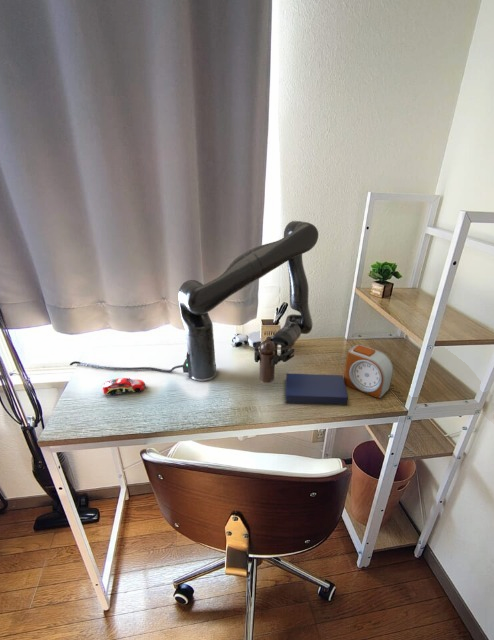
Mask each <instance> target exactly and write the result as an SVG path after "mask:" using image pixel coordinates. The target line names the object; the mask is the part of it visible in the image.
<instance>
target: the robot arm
mask: <svg viewBox="0 0 494 640" xmlns="http://www.w3.org/2000/svg"><path fill="white" fill-rule="evenodd" d="M319 235H320V234H319V230H318V228H317V227H316V226H315V225H314V224H313V223H311V222H308V221H303V220H302V221H301V220H292V221H290V222H288V223H287V224H286V226H285V228H284V231H283V237H282V238H280V239H278V240H276V241H272V242H268V243H265V244H262V245H258V246H255V247H253V248H251V249H249V250H247V251H245V252H244V253H242V254H239V256H237V257H236V258H235V259H233V261H232V262H231V263H230V264H229V265H228V267H227V268H226V269H225V271H223V273H222V274H220V275H219V276H218V277H216V278H215V279H212V280H210V281H209V282H207V283H205V284H203V283H202V282H201V281H199V280H196V279H189V280H188V279H187V280H186V281H184V282H183V283H182V284H181V285H180V287H179V291H178V306H179V311H180V312H179V313H180V317H181V321H182V324H183V328H184V333H185V342H186V350H187V352H186V354H185V356H186V357H185V359H184V362H183V364H179V365H175V366H173V367H171V369H161V368H156V367H151V366H149V367H148V366H143V367H142V366H138V367H123V366H121V367H119V366H118V367H117V366H105V365H98V364H93V363H87V362H86V363H85V362H81V361H77V360H76V361H75V360H74V361H72V362H70V364H69V366H73V365H76V364H77V365H81V366H87V367H92V368H99V369H106V370H120V371H121V370H123V371H133V370H134V371H135V370H150V371H151V370H152V371H157V372H162V373H172V372H173V371H174V370H176V369H181V368H182V372H183V374H188V378H189V379H192V380H194V381H197V382H206V381H210V380H213V379H214V378H215V377H216V376H217V374H218V373H217V363H216V353H215V352H216V351H215V338H214V325H213V321H212V319H211V317H210V314H209V313H210V312H211V311H213V310H214V309H215V308H216V307H217V306H219V305H220V304H222V303H223V302H224V301H225V300H227V299H228V298H229V297H231V296H232V295H234V294H236V293H238V292H239V291H241V290H243V289H245V288H246V287H247V286H249V285H251V284H253V283H254V282H257V281H258V280H259V279H261V278H263V277H264V276H266V275H267V274H269V273H270V272H272V271H273V270H275V269H277V268H278V267H280V266H282V265H283V264H285V263H286V264H287V270H288V279H289V307H290V309H292V310H293V311H296V312H298V313H299V314H296V313H291V314H289V315H287V316H286V318H285V323H284V325H283V326H282V327H281V328H279V329H278V330H277V331H276V332H275V333H274V334H273V335H272V336H271V337H270V341H272V342H273V343H274V345H275V349H274V351H275V357H274V358H273V359H272V360H271V366H274V365H275V366H276V365H278V363H281V361H282V362H283V363H286V362H288V361H290V360H291V359H292V358H294V357H295V353H296V352H295V351H296V349H295V348H292V347H293V346H294V345H295V344H296V342H297V341H298V339H299V338H300V337H301V335H308V334H310V333H311V331H312V330H313V323H314V322H313V318H312V314H311V311H310V304H309V295H310V294H309V291H310V290H309V289H310V288H309V282H308V281H309V280H308V277H307V274H306V271H305V267H304V261H303V254H305V253H308V252H309V251H311V250H313V249H314V248H315V246H316V244H317V243H318V240H319ZM259 346H261V342H260V341H258V342H257V344H256V346H255V348H253V350H254V351H253V352H254V353H253V354H254V355H253V356H254V358H253V359H254V362H255V363H258V362H260V350H259V349H258V348H259Z"/></svg>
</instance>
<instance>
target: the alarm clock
mask: <svg viewBox="0 0 494 640" xmlns="http://www.w3.org/2000/svg"><path fill="white" fill-rule="evenodd" d="M393 375H394V366H393V363H392V360H391V358H389V356H388V355H387V354H386V353H385V352H382V351H380V350H378V349H374V348H372V347H369V346H366V345H363V344H355V345H354V346H352V347H351V348H350V349H348V350H347V357H346V362H345V367H344V374H343V379H344V383H345V387H349V388H352V389H354V390H356V391H358V392H362V393H364V394H367V395H369V396H372V397H375V398H377V399H381V398H382V397H383V396H384V395H385V394H386V393H387V392H388V391H389V390H390V387H391V383H392V379H393Z"/></svg>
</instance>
